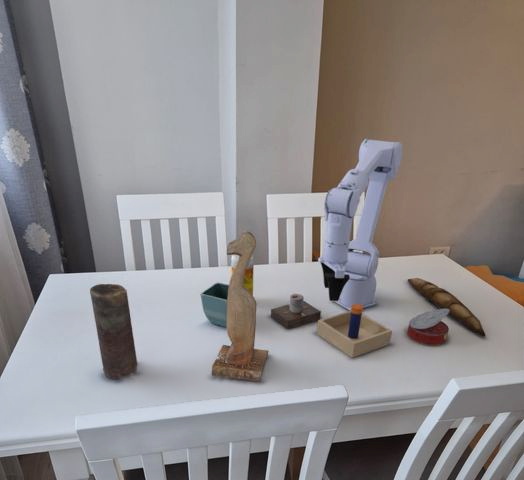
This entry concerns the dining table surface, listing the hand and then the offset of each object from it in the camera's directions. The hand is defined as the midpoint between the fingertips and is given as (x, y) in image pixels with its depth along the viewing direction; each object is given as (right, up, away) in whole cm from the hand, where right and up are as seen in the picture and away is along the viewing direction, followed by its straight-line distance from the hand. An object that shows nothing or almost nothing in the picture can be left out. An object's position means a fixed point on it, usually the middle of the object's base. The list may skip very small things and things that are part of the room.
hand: (331, 293), depth 120 cm
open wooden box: (+6, -11, +2) cm, 13 cm away
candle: (-49, -19, -13) cm, 54 cm away
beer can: (-23, -1, +17) cm, 29 cm away
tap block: (-8, -6, +10) cm, 14 cm away
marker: (+6, -11, +1) cm, 12 cm away
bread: (+35, -2, +19) cm, 40 cm away
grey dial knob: (-8, -3, +9) cm, 13 cm away
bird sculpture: (-22, -18, -11) cm, 31 cm away
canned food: (+25, -11, +4) cm, 28 cm away
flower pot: (-28, -7, +8) cm, 30 cm away
